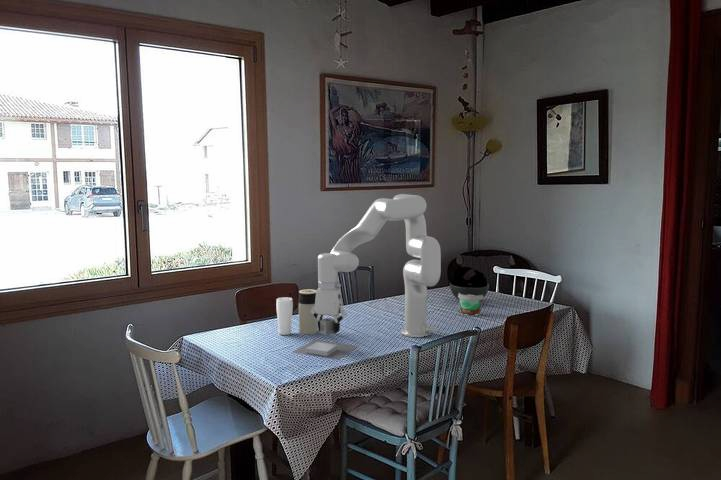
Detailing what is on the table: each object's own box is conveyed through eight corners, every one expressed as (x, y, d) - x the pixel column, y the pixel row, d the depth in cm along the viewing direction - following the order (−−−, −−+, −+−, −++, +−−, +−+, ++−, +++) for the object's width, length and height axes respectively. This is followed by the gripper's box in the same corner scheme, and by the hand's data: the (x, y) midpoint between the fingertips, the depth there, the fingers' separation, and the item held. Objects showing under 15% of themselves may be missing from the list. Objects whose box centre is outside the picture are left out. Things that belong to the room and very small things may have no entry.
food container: (454, 315, 282) (455, 294, 280) (457, 312, 287) (458, 292, 286) (480, 317, 277) (481, 297, 276) (483, 314, 283) (483, 294, 282)
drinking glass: (279, 336, 244) (279, 301, 242) (274, 332, 250) (274, 298, 248) (295, 334, 248) (294, 299, 246) (289, 330, 253) (289, 296, 252)
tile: (337, 344, 226) (327, 351, 218) (337, 349, 226) (327, 356, 218) (317, 341, 230) (305, 348, 222) (317, 346, 230) (305, 353, 222)
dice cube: (326, 335, 225) (325, 322, 224) (319, 332, 229) (318, 319, 228) (336, 332, 228) (336, 320, 227) (329, 329, 232) (329, 317, 231)
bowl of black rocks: (449, 298, 318) (450, 263, 315) (486, 299, 315) (488, 264, 312) (449, 306, 298) (450, 270, 296) (489, 308, 295) (491, 271, 293)
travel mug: (310, 336, 246) (310, 293, 243) (295, 333, 250) (294, 291, 248) (321, 331, 252) (321, 290, 250) (306, 328, 257) (306, 288, 254)
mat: (359, 346, 232) (359, 345, 232) (339, 360, 215) (339, 359, 215) (314, 340, 240) (314, 339, 240) (291, 353, 223) (291, 352, 223)
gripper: (352, 285, 225) (353, 331, 228) (312, 282, 232) (313, 326, 235) (344, 289, 219) (344, 336, 221) (303, 285, 226) (304, 331, 228)
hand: (328, 330), depth 228 cm, fingers closed on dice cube, 6 cm apart
